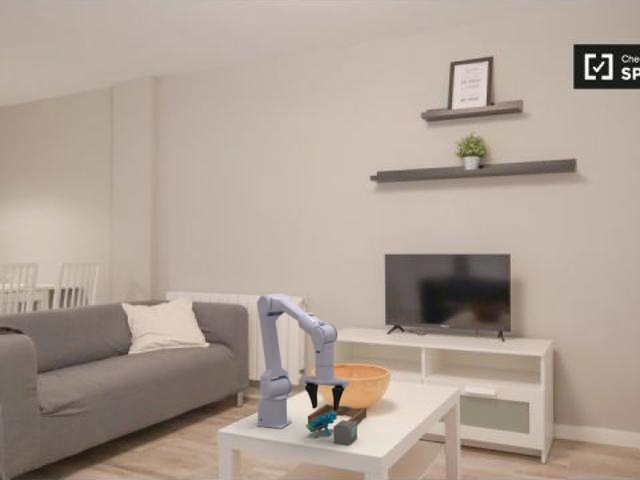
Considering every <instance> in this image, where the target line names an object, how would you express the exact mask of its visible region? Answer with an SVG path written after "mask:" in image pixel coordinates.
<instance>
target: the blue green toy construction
mask: <svg viewBox="0 0 640 480" xmlns="http://www.w3.org/2000/svg"><path fill="white" fill-rule="evenodd" d="M317 418H318V419H317V420H315V419H314V420H313V421H312V423H311V424H308V423H307V424H306V425H305V427H306V429H307V430H309V432H310V433H312V434H313V437H314V438H315V439H316V438H318V435H317V434H316V432H317V431H321V430H323V429H324V430H325V432H326V434H327V436H328V437H330V436H332V433H331V431H330V430H329V429H330V428H329V425H331V424H334V422H335V420H337V419H338V415H337V413H334V412H330V414H328V412H327V413H325V414H324V417H322V416H321V415H320V416H318V417H317Z"/></svg>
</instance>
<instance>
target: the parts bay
mask: <svg viewBox="0 0 640 480" xmlns="http://www.w3.org/2000/svg"><path fill="white" fill-rule="evenodd" d="M341 405H342V404H341ZM341 405H340V404H339V408H338V410H337V411H334V408H333V404H327V403H326V404H324V405H321V407H319V408H318V409H316V410H315V411H314V412H311V413H310V414H309V415H307V424H311V423H312V421H313V420H314V419H315V420H317V419H318V418H317V417H318V416H320V415H321V416H322V417H324V414H325V413H327V412H328V414H329V415H330V412H334V413H337V416H342V415H346V416H345V417H350V418H349V419H348V420H347V421H354V422H357V426H358V425H359V424H361V422H363V421H364V420H365V419H366V418H367V408H365V407H355V406H350V405H343V406H341ZM351 416H353V417H351ZM365 417H366V418H365ZM364 418H365V419H364ZM363 419H364V420H363ZM362 420H363V421H362Z"/></svg>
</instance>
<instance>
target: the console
mask: <svg viewBox="0 0 640 480" xmlns="http://www.w3.org/2000/svg"><path fill="white" fill-rule="evenodd" d="M356 439H358V425H357V422H354V421H348V420H344V419H341V420H340V421H339V422H337V424H335V425H333V444H335V445H336V444H337V445H342V446H350V445H351V444H353V443H354V442H355V440H356Z"/></svg>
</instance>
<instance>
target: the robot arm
mask: <svg viewBox="0 0 640 480" xmlns="http://www.w3.org/2000/svg"><path fill="white" fill-rule="evenodd" d="M256 306H257V313H258V320H259V327H260V333H261V334H260V335H261V340H262V341H261V342H262V349H263V355H264V356H263V357H264V363H265V371H264V372H263V373H262V375H261V376H260V378H259V379H260V383H259V384H260V385H259V392H260V395H261V397H260V398H259V400H258V402H257V424H256V426H257V427H266V428H272V429H283V428H284V427H287V426H288V425H289V424H291V423H292V421H293V420H290V419H288V405H287V403H288V397H289V394H290V393H291V392H292V388H293V386H292V385H293V384H292V381H291V379H290V376H289V372H288V371H287V370H286V369H284V368H283V366H282V360H281V359H282V357H281V352H280V351H281V350H280V344H279V338H278V337H279V336H278V329H277V328H278V327H277V320H278V319H279V317H281V316H282V315H283V314H286V315H288V316H290V317H291V319H294V320H295V321H297V324H298V327H299V328H300V329H301V330H303V331H304V332H305V333H306V334H308V335H309V336H310V340H311V343H312V344H313V350H314V355H315V356H314V358H315V359H314V362H315V365H314V366H315V376H303V377H302V378H301V379H302V380H301V381H302V385H305V386H304V389H305V391H306V392H307V395H308V397H309V399H310V403H311V406H312V407H311V408H312V409H313V410H314V409H316V408H317V407H318V391H319V385H320V386H328V387H329V386H330V387H331V386H332V387H333V388H331V393H332V399H333V404H332V405H333V408H334V411H337V410H338V408H339V406H340V402H341V398H342V395H343V393H344V391H345V389H346V388H347V387H349V379H343V378H338V377H335V360H334V359H335V353H334V352H335V351H334V349H335V348H334V346H335V342H336V341H337V339H338V330H337V328H336V326H334V324H332V323H325V322H324V320H322V319H319V318H318V317H317V316H315V313H314V312H309V311H307V312H305V311H304V310H303V309H301V308H300V307H299V306H298V305H297V304H296V303H295V302H294V301H293V299H292V297H291V296H290V295H289V294H288V293H286V292H280V293H271V294H269V293H268V294H261V295H260V296H259V298H258V300H257V302H256Z"/></svg>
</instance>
